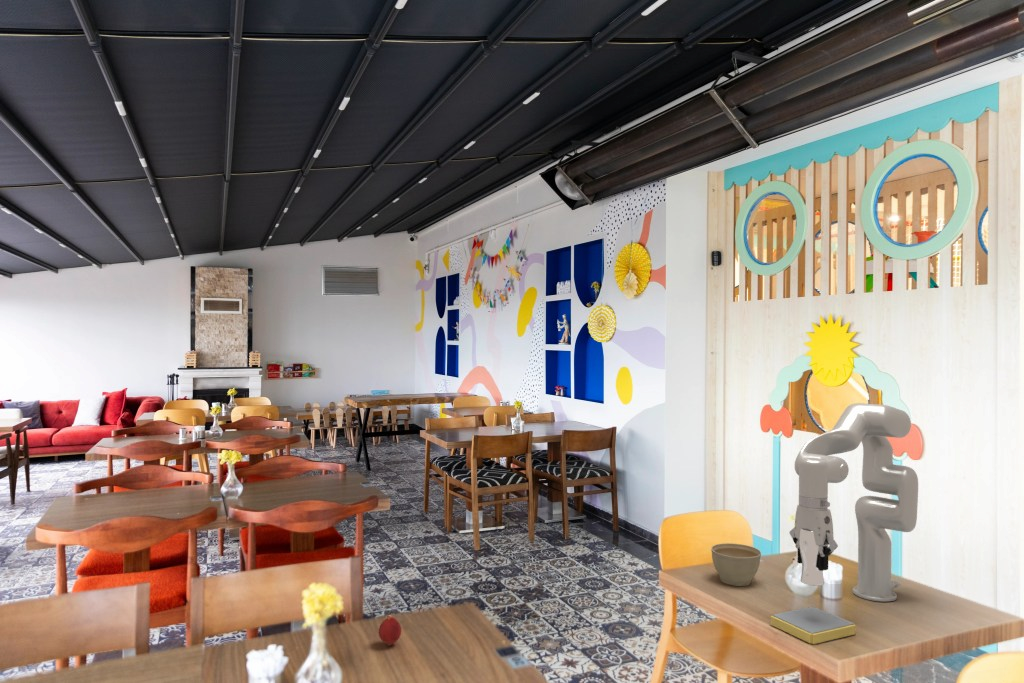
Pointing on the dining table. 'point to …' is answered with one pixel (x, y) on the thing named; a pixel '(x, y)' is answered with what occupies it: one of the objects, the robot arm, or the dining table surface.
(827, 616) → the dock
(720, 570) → the planter bowl
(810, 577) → the beer glass
